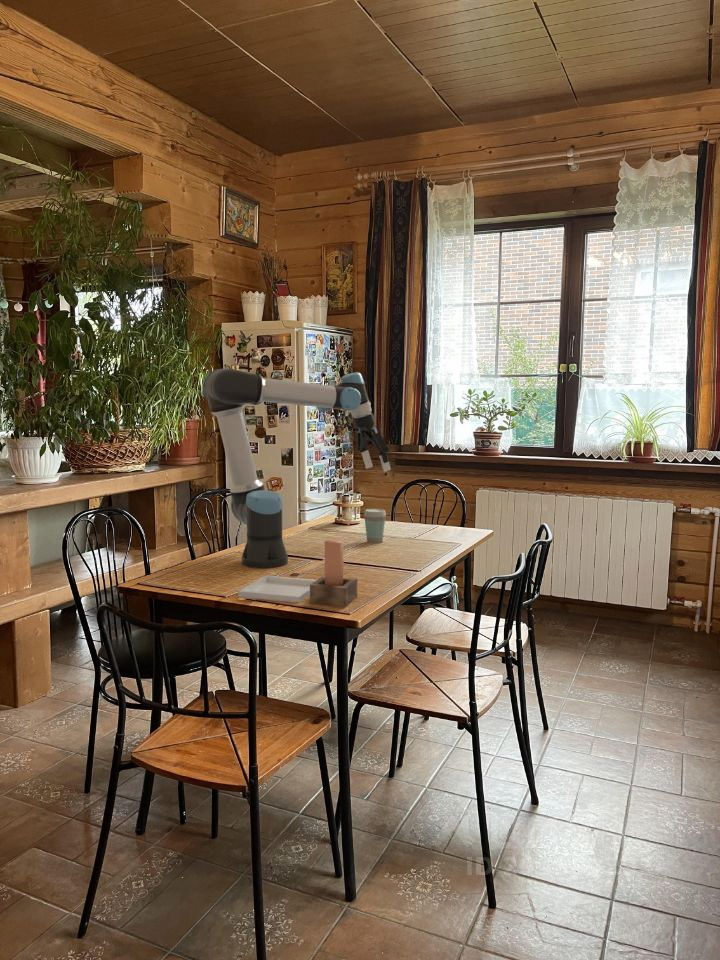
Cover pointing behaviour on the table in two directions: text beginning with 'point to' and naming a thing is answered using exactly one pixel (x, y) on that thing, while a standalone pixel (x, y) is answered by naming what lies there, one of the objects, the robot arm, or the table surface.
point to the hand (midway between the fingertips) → (378, 469)
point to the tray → (277, 589)
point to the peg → (334, 562)
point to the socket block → (333, 592)
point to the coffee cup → (374, 525)
